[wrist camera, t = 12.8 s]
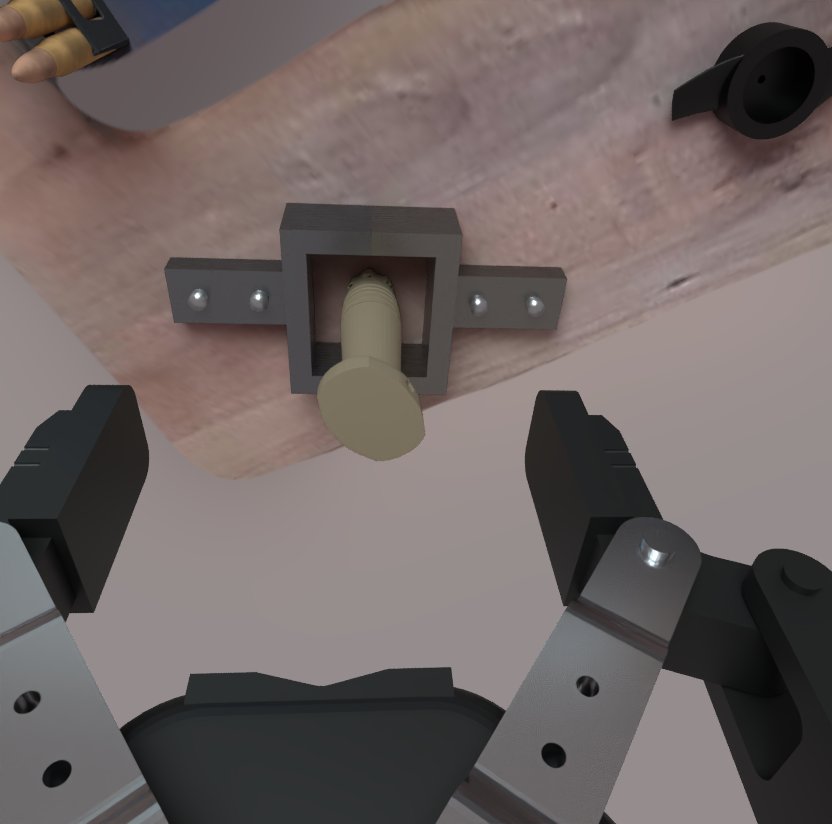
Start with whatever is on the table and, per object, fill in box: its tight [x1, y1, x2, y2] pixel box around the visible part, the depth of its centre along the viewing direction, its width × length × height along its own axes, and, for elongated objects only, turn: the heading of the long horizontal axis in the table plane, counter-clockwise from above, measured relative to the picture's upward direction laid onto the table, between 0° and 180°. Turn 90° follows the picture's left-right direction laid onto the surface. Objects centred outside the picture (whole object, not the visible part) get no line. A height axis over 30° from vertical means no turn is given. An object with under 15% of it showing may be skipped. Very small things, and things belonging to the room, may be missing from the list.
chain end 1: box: [164, 203, 372, 394], centre depth 44 cm, size 14×12×4 cm
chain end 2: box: [371, 206, 567, 395], centre depth 46 cm, size 14×12×4 cm
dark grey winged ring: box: [672, 22, 832, 139], centre depth 39 cm, size 8×10×3 cm
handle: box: [317, 269, 425, 461], centre depth 41 cm, size 5×6×15 cm
